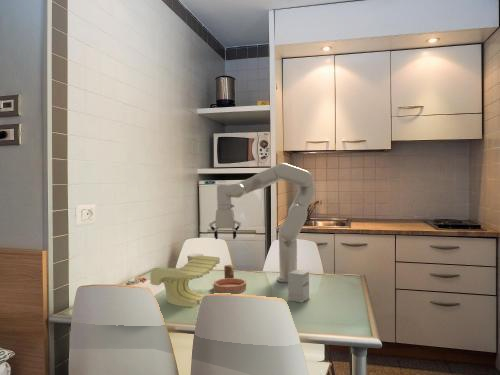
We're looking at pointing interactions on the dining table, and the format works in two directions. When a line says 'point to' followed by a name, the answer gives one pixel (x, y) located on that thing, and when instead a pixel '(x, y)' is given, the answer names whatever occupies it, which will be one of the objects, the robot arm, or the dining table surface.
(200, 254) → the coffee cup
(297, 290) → the supplement box
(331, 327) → the dining table surface
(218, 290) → the round tray
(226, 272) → the walnut bead
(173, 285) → the slatted curved stool
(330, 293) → the dining table surface
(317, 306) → the dining table surface
